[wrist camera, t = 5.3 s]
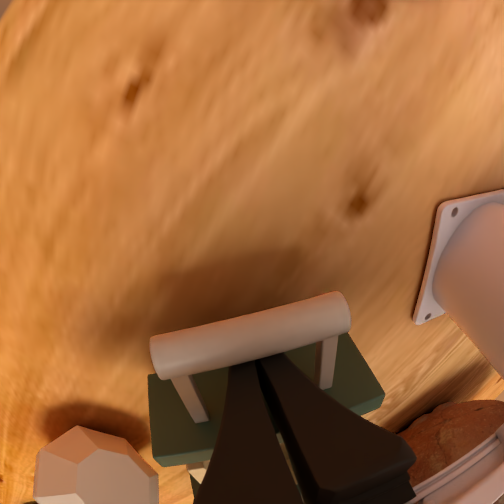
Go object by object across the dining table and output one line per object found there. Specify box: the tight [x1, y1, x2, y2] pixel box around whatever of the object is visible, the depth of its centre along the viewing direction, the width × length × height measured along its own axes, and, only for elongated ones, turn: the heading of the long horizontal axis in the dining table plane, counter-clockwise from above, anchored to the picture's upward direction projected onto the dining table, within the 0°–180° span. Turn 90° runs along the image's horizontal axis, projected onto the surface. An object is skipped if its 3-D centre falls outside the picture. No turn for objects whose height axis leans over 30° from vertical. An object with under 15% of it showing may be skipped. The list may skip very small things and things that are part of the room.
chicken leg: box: [33, 425, 159, 504], centre depth 16 cm, size 8×18×8 cm, turn 142°
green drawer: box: [148, 291, 385, 485], centre depth 15 cm, size 18×9×4 cm, turn 6°
